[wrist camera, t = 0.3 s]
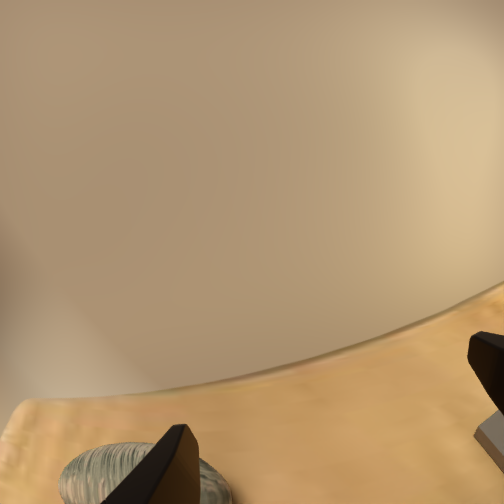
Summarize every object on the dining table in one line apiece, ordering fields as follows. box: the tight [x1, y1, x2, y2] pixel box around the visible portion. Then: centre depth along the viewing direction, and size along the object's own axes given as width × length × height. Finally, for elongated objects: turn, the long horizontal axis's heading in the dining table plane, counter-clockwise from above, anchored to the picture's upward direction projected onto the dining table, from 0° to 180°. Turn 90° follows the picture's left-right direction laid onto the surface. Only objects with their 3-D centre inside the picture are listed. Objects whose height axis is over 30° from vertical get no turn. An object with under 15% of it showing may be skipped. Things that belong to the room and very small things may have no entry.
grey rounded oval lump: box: [58, 442, 232, 504], centre depth 15 cm, size 14×10×10 cm
